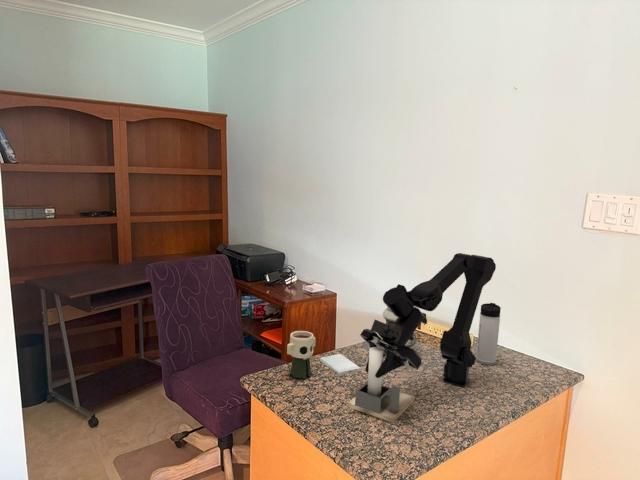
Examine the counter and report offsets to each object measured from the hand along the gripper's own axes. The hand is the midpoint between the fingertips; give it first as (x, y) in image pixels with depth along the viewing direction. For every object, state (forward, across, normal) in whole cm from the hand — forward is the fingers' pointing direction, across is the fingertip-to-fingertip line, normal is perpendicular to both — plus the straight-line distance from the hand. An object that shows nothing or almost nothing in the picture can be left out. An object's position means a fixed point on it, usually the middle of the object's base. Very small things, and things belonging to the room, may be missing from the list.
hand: (371, 374), depth 115 cm
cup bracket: (+5, +1, +8) cm, 9 cm away
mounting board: (+3, -1, +11) cm, 11 cm away
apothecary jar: (-17, -25, +32) cm, 43 cm away
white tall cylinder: (+4, 0, +6) cm, 7 cm away
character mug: (+10, -27, +4) cm, 29 cm away
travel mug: (-32, -5, +47) cm, 57 cm away
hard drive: (0, -27, +15) cm, 31 cm away
